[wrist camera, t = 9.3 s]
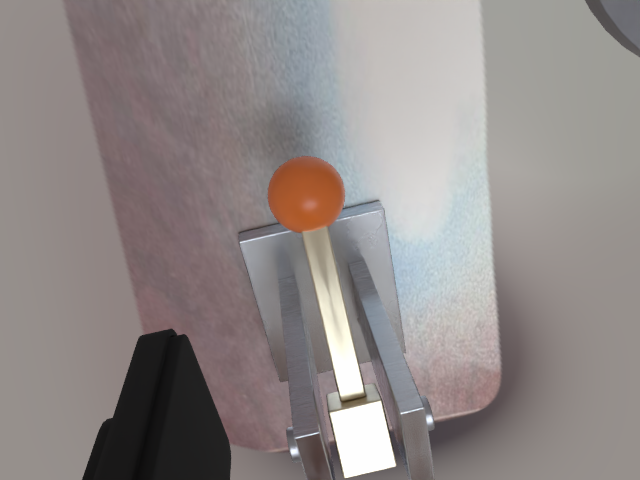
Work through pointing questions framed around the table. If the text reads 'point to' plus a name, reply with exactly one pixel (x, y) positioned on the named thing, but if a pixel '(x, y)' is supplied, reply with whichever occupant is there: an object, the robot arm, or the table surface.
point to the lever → (333, 312)
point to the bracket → (309, 338)
